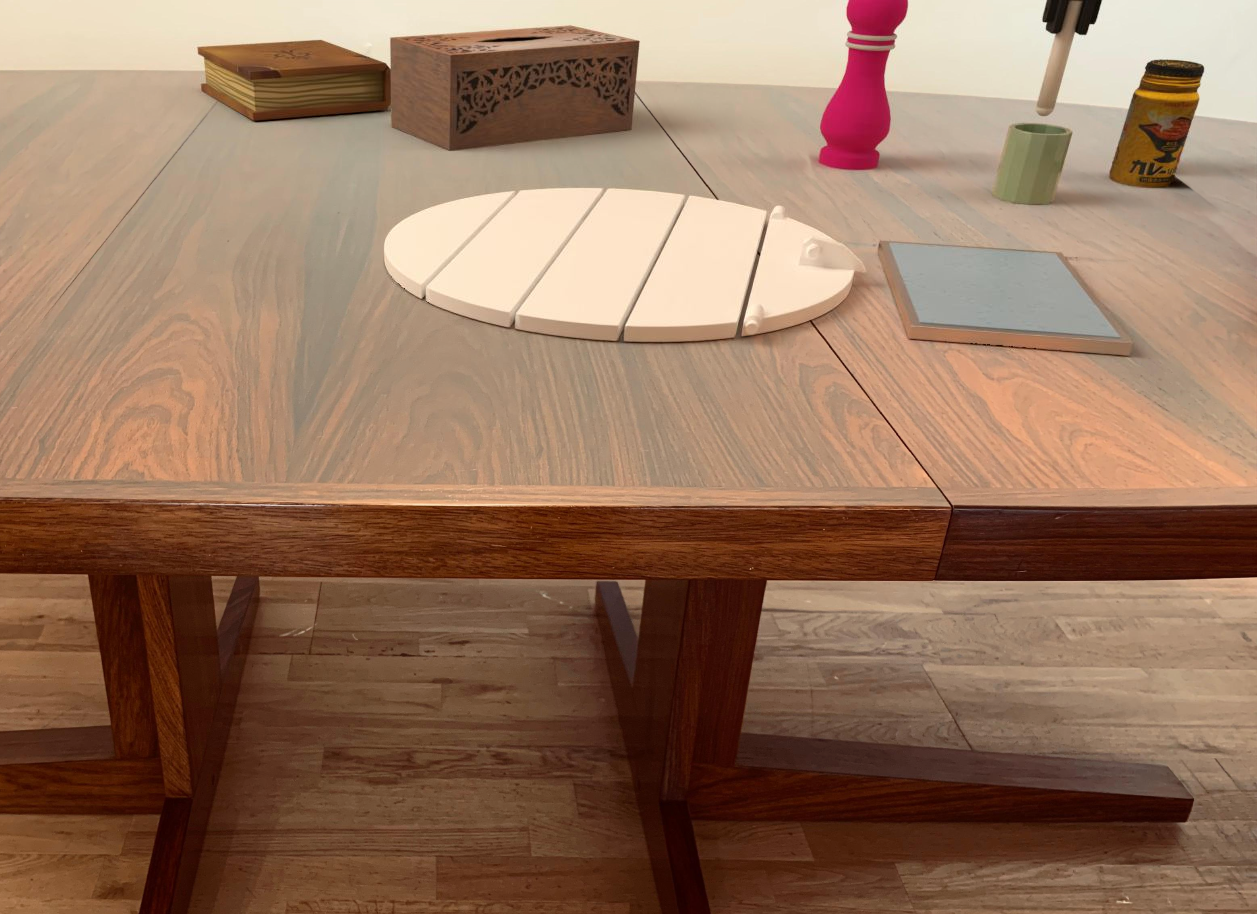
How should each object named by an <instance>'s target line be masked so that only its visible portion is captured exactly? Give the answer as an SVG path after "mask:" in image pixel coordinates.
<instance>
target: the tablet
mask: <svg viewBox="0 0 1257 914" xmlns="http://www.w3.org/2000/svg"><path fill="white" fill-rule="evenodd" d="M877 254H878V257H879V259H880V262H881V265H882V268H883V271H884V273H885V276H886V279H887V281H888V285H889V287H890V290H891V293H892V296H893V299H894V302H895V304H896V307H897V310H898V312H899V315H900V317H901V321H902V324H903V326H904V329H905V333H906V335H907V338H908V339H909V340H920V341H921V340H922V341H933V342H945V341H946V342H948V343H958V344H959V343H960V344H970V343H973V344H972V345H983V344H986V346H988V345H987V344H990V345H989V346H996V345H1003V346H1002V347H1009V346H1010V347H1011V346H1013V347H1011V348H1022V347H1026V348H1025V349H1034V348H1036V350H1048V351H1050V350H1051V351H1060V350H1061V352H1062V351H1063V352H1073V353H1074V352H1075V353H1085V354H1099V355H1100V354H1101V355H1110V356H1111V355H1113V356H1125V357H1129V356H1130V355H1131V352H1132V349H1133V346H1134V341H1133V340H1132V339H1131V338H1130V337H1129V335H1128V333H1126V331H1125V330H1124V329H1123V328H1122V326H1121V325H1120V324H1119V323H1118V322H1117V320H1116V319H1115V317H1113V315H1112V314H1111V313H1110V311H1109V310H1108V308H1107V307H1106V306H1105V305H1104V304H1103V302H1102V301H1101V300H1100V298H1098V297H1097V295H1096V294H1095V293H1094V291H1093V289H1091V287H1090V286H1089V285H1088V284H1087V282H1086V281H1085V280H1084V278H1082V276H1081V275H1080V273H1079V272H1078V271H1077V270H1076V269H1075V268H1074V266H1073V265H1072V264H1071V262H1070V261H1069V260H1068V259H1067V258H1066V256H1065V255H1064V254H1063V253H1062V252H1061V251H1060V252H1059V251H1046V250H1030V249H1016V248H1015V249H1013V248H1001V247H1000V248H999V247H985V246H972V245H971V246H969V245H955V244H939V243H924V242H909V241H895V240H894V241H893V240H879V241H878V245H877ZM975 343H977V344H975Z"/></svg>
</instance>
